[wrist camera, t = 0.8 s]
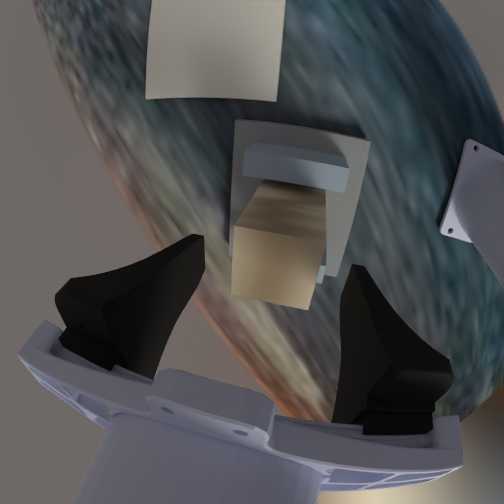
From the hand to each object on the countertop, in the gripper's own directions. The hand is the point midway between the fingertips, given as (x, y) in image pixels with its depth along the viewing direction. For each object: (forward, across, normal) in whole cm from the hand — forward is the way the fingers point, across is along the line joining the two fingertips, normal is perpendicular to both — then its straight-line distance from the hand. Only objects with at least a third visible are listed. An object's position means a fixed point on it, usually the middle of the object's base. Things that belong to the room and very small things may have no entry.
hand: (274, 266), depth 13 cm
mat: (+9, +7, -14) cm, 18 cm away
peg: (+8, 0, 0) cm, 8 cm away
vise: (+9, 0, 0) cm, 9 cm away
